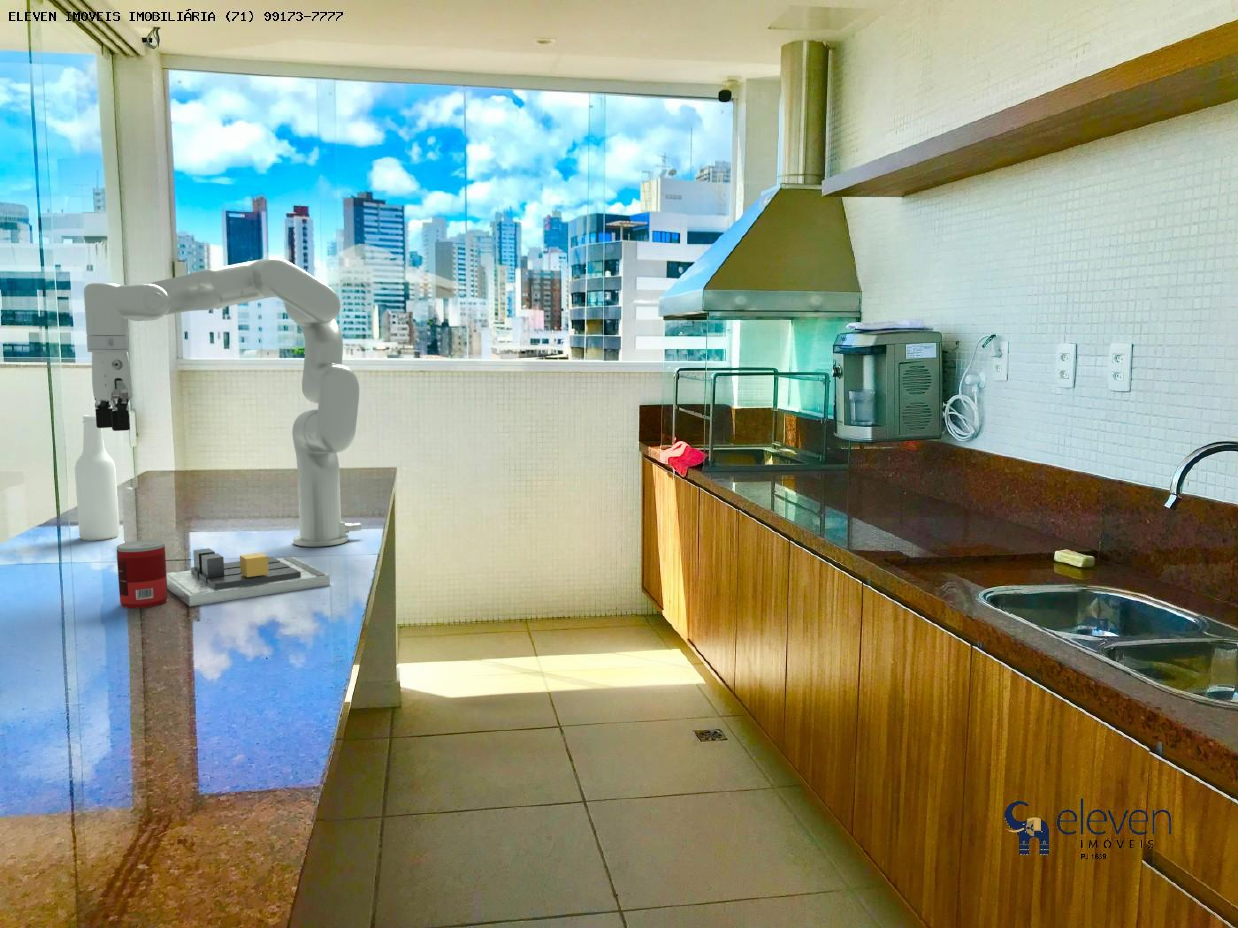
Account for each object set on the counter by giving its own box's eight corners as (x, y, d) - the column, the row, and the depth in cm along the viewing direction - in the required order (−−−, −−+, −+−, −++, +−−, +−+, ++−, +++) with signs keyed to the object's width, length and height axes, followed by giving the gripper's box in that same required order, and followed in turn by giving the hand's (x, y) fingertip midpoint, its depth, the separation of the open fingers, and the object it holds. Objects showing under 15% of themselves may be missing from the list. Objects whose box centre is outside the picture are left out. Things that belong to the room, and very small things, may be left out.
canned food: (177, 599, 182) (174, 541, 181) (143, 610, 175) (140, 549, 173) (144, 596, 185) (141, 538, 183) (110, 606, 177) (106, 546, 176)
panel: (293, 566, 210) (292, 536, 209) (330, 585, 193) (328, 552, 192) (162, 584, 194) (160, 551, 193) (189, 606, 177) (187, 571, 177)
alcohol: (71, 539, 239) (62, 416, 235) (102, 532, 247) (94, 413, 243) (97, 542, 236) (89, 417, 232) (128, 535, 244) (120, 414, 240)
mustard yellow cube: (261, 570, 191) (261, 552, 191) (268, 574, 188) (267, 556, 187) (240, 573, 189) (239, 555, 188) (247, 577, 186) (246, 558, 185)
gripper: (142, 345, 196) (147, 430, 198) (113, 345, 209) (118, 425, 211) (102, 345, 191) (107, 432, 193) (74, 345, 203) (79, 427, 205)
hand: (113, 429), depth 202 cm, fingers open, 9 cm apart
